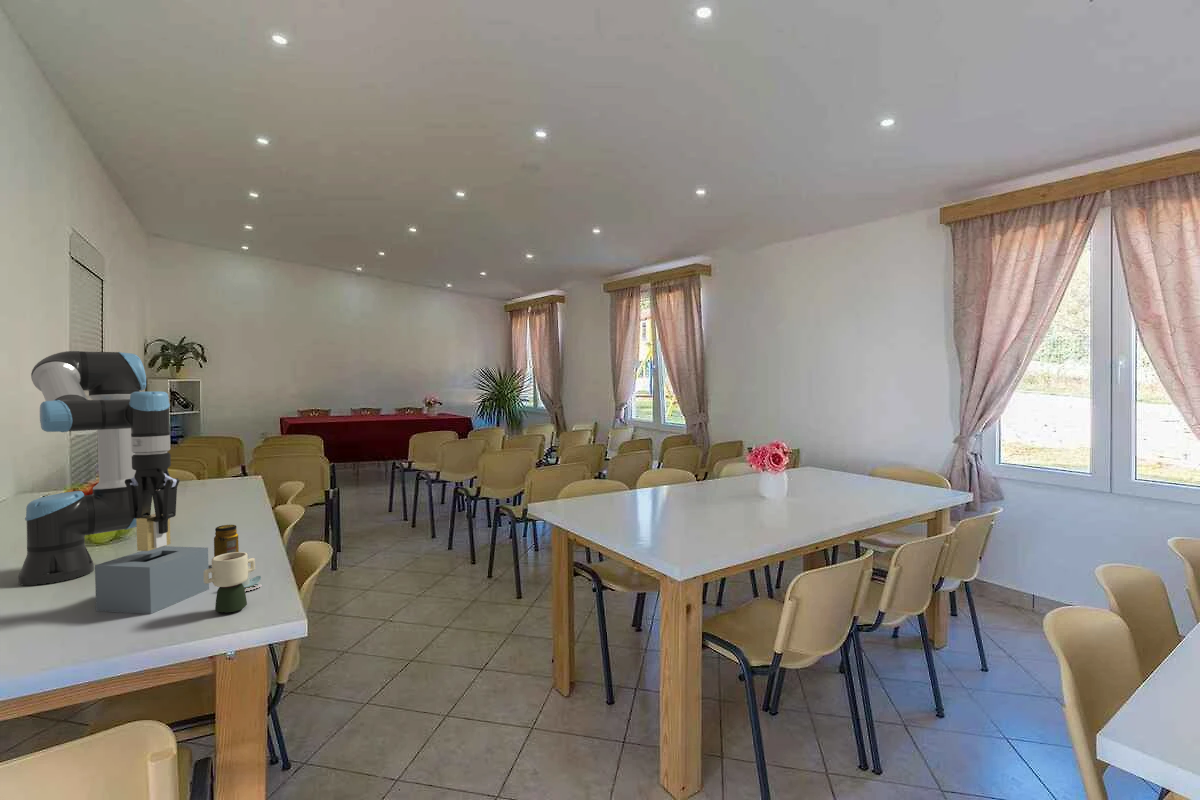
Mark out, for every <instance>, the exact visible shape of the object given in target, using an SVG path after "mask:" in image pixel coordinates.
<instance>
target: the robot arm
mask: <svg viewBox="0 0 1200 800" xmlns="http://www.w3.org/2000/svg"><path fill="white" fill-rule="evenodd" d="M146 375H147V374H146V371H145V367H144V363H143V362H142V360H141V358H140V357H139V356H138V355H136V354H135V353H130V352H120V351H118V352H117V351H80V350H68V351H67V350H66V351H62V352H57V353H54V354H51V355H48V356H46V357H44V358H43V359H40V360H39V361H38V362H37V363H35V365H34V366H33V368H32V370H31V373H30V376H31V381H32V384H33V385H34V386H35V388H36V389H37V390H39V391H40V392H41V393H42V396H43V397H44V400H45V401H42V402H41V403H40V406H39V423H40V428H41V430H42V431H43V432H47V433H51V432H53V433H54V432H57V433H58V432H59V433H67V432H80V431H81V432H82V431H83V432H84V431H85V432H86V431H96V434H97V435H96V436H97V450H98V451H97V453H98V458H97V459H98V479H99V480H98V483H96V484H95V485H94V486H93V487H92V494H88V495H85V493H84V492H83V491H81V490H74V491H66V492H61V493H56V494H49V495H46V496H42V497H39V498H36V499H33V500H31V501H30V502H29V503H28V504H27V506H26V508H25V511H26V512H25V513H26V514H25V518H24V520H25V521H26V556H25V558H24V561H23V563H22V566H21V569H20V572H19V574H18V584H19V583H20V584H19V585H21V584H23V585H22V586H38V585H37V584H43V585H47V584H46V583H50V584H54V582H56V583H60V582H59V581H61V582H65V581H64V580H66V581H69V580H68V579H70V580H73V579H72V578H74V579H76V578H75V577H78V578H80V577H79V576H81V577H83V575H84V576H86V575H85V574H87V575H88V573H89V574H91V573H93V572H94V571H95V563H94V560H92V557H91V554H90V553H89V551H88V548H87V547H86V541H85V539H86V538H85V537H86V536H89V535H97V534H101V533H102V534H103V533H109V532H115V531H116V532H117V531H122V530H129V529H133V528H137V524H136V518H140V517H144V516H148V515H151V512H152V504H153V507H154V514H155V515H156V520H153V521H154V522H153V528H154V548H158V547H161V546H165V545H166V546H168V545H167V536H166V533H167V532H168V519H169V518H170V519H171V518H174V517H176V513H177V495H178V494H177V493H178V486H179V484H180V478H179V477H178V478H174V477H171V476H170V475H171V474H170V472H169V470H168V469H169V468H170V467H171V465H172V463H171V462H172V461H171V460H172V459H171V453H170V452H169V451H170V450H171V434H170V431H171V430H170V407H171V404H170V399H169V398H170V397H169V394H168V392H166V391H145V390H146V388H147V376H146ZM86 391H88V397H89V398H88V397H87V395H86V393H85V392H86ZM152 501H153V502H152ZM162 514H163V515H162ZM90 572H91V573H90Z"/></svg>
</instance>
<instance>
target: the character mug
mask: <svg viewBox="0 0 1200 800" xmlns="http://www.w3.org/2000/svg"><path fill="white" fill-rule="evenodd" d="M249 564H250V568H249V569H248V566H249ZM211 565H212V568H211V567H209V569H206V570H204V573H203V574H204V583H205V584H207V583H209V584H210V583H211V584H213V585H214V587H216V588H217V587H218V588H217V591H216V597H215V607H214V611H215V612H218V613H223V612H225V613H231V612H232V613H234V612H238V611H241V610H242V609H244V608H246V606H247V605H248V602H247V595H246V592H245V589H244V586H243V584H242V583H243V582H245V581H246V580H247V578H248V573H249V572H251V573H252V572H254V571H255V570H256V558H255V557H251V558H249V556H248V553H247V552H245V551H239V552H233V553H226V554H222V555H218V556H216V557H214V556H213V557H212V558H211ZM208 573H209V574H210V573H211V578H210V577H209V578H208Z"/></svg>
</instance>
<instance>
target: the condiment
mask: <svg viewBox="0 0 1200 800" xmlns="http://www.w3.org/2000/svg"><path fill="white" fill-rule="evenodd" d="M237 532H238V530H237V524H224V525H219V526H217V527H215V533H214V534H215V536H214V537H213V555H214V556H213V557H216V556H218V555H222V554H226V553H233V552H240V550H239V545H240V544H239V533H237Z"/></svg>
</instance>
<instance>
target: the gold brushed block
mask: <svg viewBox="0 0 1200 800" xmlns="http://www.w3.org/2000/svg"><path fill="white" fill-rule="evenodd" d="M162 515H163V514H162ZM153 520H156V515H155V513H153V514H150V515H148V516H144V517H140V518H136V524H137V527H136V546H137V547H136V548H137V550H136V552H140V551H150V550H153V549H156V548H154V528H153V522H154V521H153ZM166 536H167V545H165V546H169V545H171V544H172V543H171V518H169V519H168V532H167V533H166ZM161 547H162V546H161ZM158 548H159V547H158Z"/></svg>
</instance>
